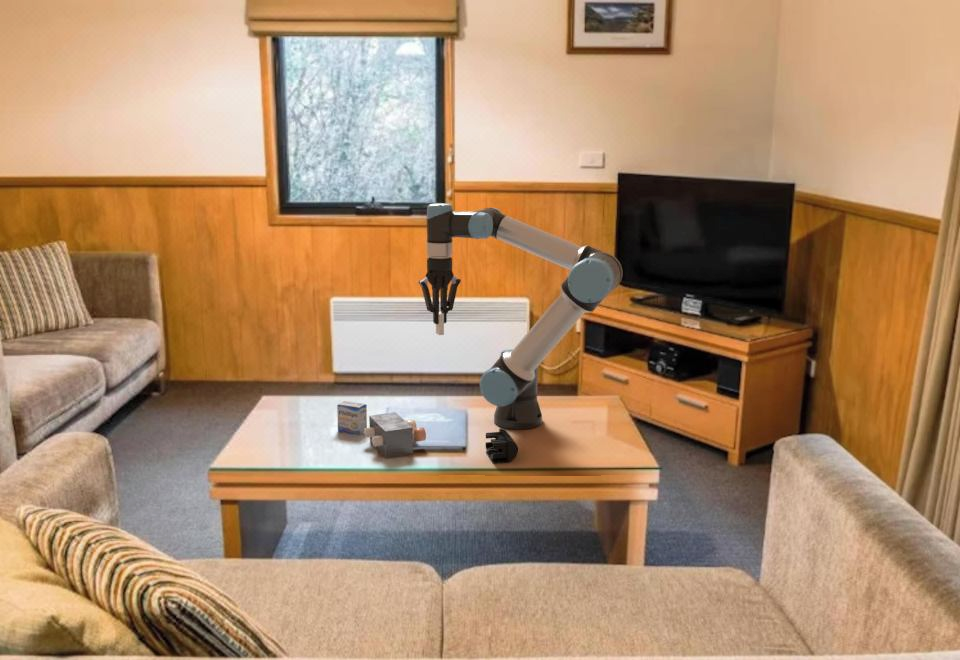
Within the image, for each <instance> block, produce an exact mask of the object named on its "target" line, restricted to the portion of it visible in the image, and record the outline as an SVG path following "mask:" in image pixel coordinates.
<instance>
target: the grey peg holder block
mask: <svg viewBox="0 0 960 660" xmlns="http://www.w3.org/2000/svg"><path fill="white" fill-rule="evenodd" d="M368 417H369V419H368V421H369V428H370V427H374V428H375V436H380V435H382V436H383V445H381V446H374V447H375V449H376V450H377V451H378V452H379V453H380V454H381V455H382V456H383V457H384V458H385V459H392V458H397V457H404V456H410V455H414V445H413V444H414V441H413V427H412V426H410V425H409V424H408V423H407V422H406V421H407V420H405V419H404V418H403V417H401V416H400V414H398V413H397V412H393V411H392V412H386V413H381V414H373V415H372V414H371V415H369V416H368ZM369 442H370V443H371V445H373V443H372V437H369Z"/></svg>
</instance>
